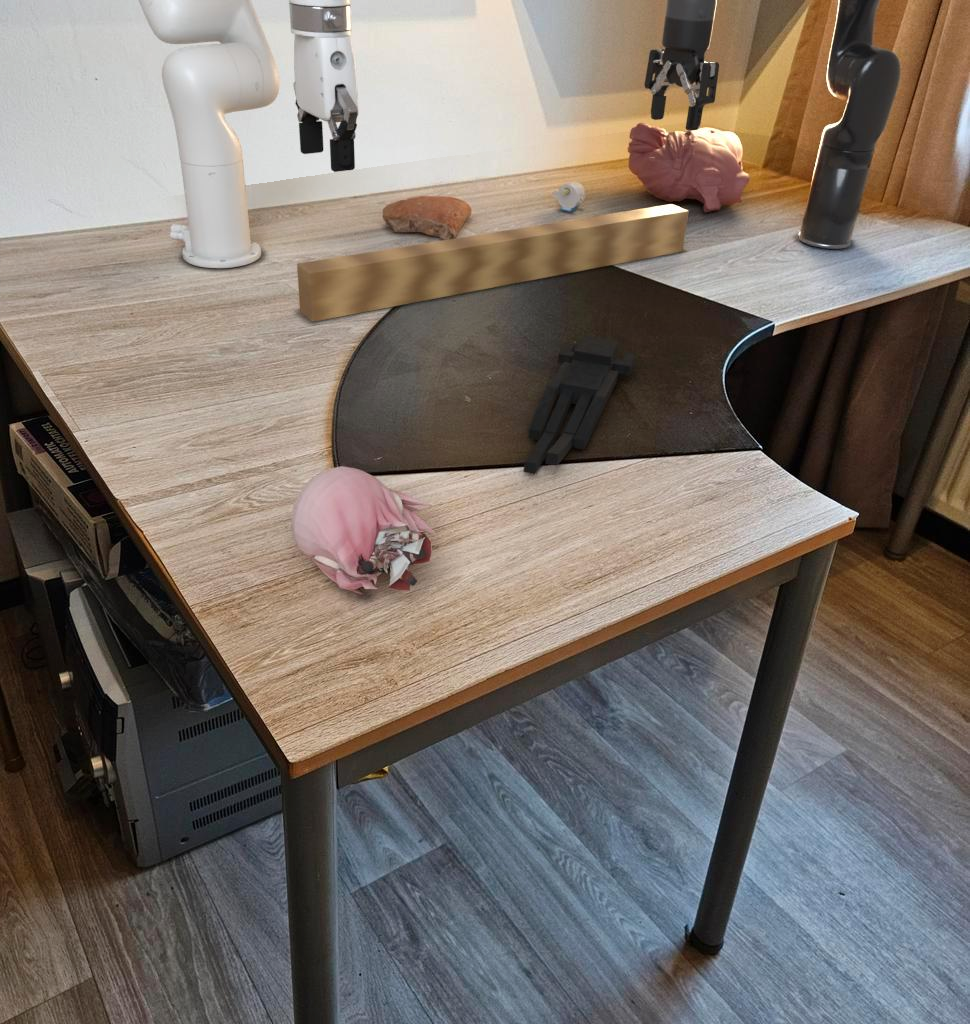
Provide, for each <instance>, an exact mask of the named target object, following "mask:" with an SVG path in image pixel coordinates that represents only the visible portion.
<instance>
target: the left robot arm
mask: <svg viewBox="0 0 970 1024" xmlns="http://www.w3.org/2000/svg"><path fill="white" fill-rule="evenodd" d="M138 2H139V5H140V7H141V10H142V12H143V15H144V16H145V19H146V21H147V23H148V26H149V27H150V29H151V31H152V33H153V34H154V35H155V37H156V38H157V39H158V40H160V41H161V42H164V43H165V44H170V45H189V44H191V45H190V46H184V47H181V48H178V49H176V50H174V51H172V52H170V54H168V55H167V57H166V58H165V59H164V62H163V64H162V67H161V68H162V69H161V78H162V79H161V80H162V84H163V88H164V92H165V95H166V99H167V101H168V104H169V108H170V112H171V115H172V119H173V123H174V129H175V135H176V140H177V148H178V155H179V160H180V168H181V176H182V183H183V192H184V200H185V208H186V213H187V214H186V216H187V223H188V225H185V224H180V223H172V225H171V226H170V233H169V237H170V239H171V240H175V241H183V242H184V247H183V248H182V250H181V253H182V258H183V260H184V261H185V262H186V263H188V264H190V265H193V266H196V267H199V268H206V269H232V268H239V267H243V266H247V265H249V264H252V263H255V262H257V261H258V260H259V259H260V258H261V257H262V247H261V246H260V245H259V243H257V242H256V241H253V240H251V230H250V220H249V210H248V209H249V208H248V198H247V197H248V196H247V188H246V178H245V167H244V158H243V157H244V156H243V148H242V144H241V141H240V138H239V137H238V135H237V133H236V131H234V129H233V128H232V126H230V124H229V123H228V121H227V119H226V118H225V115H226V114H232V113H234V112H235V113H236V112H243V111H249V110H250V111H251V110H256V109H262V108H265V107H268V106H270V105H271V104H273V103H274V102H275V101H276V99H277V97H278V95H279V91H280V76H279V71H278V67H277V63H276V60H275V57H274V54H273V52H272V50H271V48H270V45H269V42H268V40H267V36H266V35H265V32H264V30H263V27H262V24H261V22H260V20H259V17H258V15H257V12H256V10H255V7H254V5H253V3H252V0H138ZM288 2H289V3H288V6H289V7H288V8H289V22H290V23H289V24H290V33H291V34H294V39H293V40H294V43H293V45H294V46H293V66H294V68H293V69H294V70H293V71H294V82H293V90H294V94H295V98H296V99H295V102H294V104H295V106H296V108H297V114H296V117H297V118H296V119H297V121H298V133H299V145H300V146H299V147H300V149H299V150H300V153H301V154H303V155H310V154H318V153H319V154H321V153H323V152H324V132H323V131H324V130H323V129H324V128H323V122H327V125H328V128H329V130H330V134H331V138H330V139H329V154H330V170H331V171H332V172H334V173H339V172H346V171H347V172H348V171H353V170H355V168H356V160H355V159H356V156H355V139H356V130H357V126H358V124H357V119H358V117H359V110H360V109H359V93H358V79H357V67H356V60H355V53H354V47H353V41H352V37H351V35H352V11H351V0H288ZM215 42H216V43H215ZM200 43H201V44H200ZM203 43H208V44H203ZM192 44H196V45H192ZM197 44H198V45H197ZM337 123H339V125H338V124H337Z"/></svg>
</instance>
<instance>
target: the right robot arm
mask: <svg viewBox="0 0 970 1024" xmlns="http://www.w3.org/2000/svg"><path fill="white" fill-rule="evenodd" d="M717 2H718V0H667V1H666V9H665V15H664V16H665V17H664V23H663V24H664V25H663V31H662V39H661V45H662V47H664V48H655V49H650V51H649V55H648V61H647V66H646V72H645V79H644V89H646V90H647V89H649V90H650V93H651V95H652V98H651V107H650V118H651V120H654V121H659V120H660V121H661V120H663V119H664V117H665V110H666V104H667V102H666V101H667V95H666V93H667V92H668V91H669V89H670V88H671V87H672V86H673V85H676V86H678V87H680V88H682V90H683V92H684V93H685V94H686V95H687V99H688V101H689V106H688V109H687V116H686V123H685V130H686V131H694V130H698V129H700V126H701V123H702V117H703V111H704V107H705V106H706V105H710V104H714V103H715V102H716V96H717V95H716V94H717V88H718V87H717V86H718V80H719V79H718V78H719V72H720V63H719V61H712V62H707V61H706V60H705V54H706V52H707V51H708V50H709V49H710V46H711V40H712V35H713V27H714V22H715V15H716V8H717ZM880 2H881V0H838V5H837V13H836V20H835V25H834V31H833V36H832V40H831V47H830V50H829V55H828V64H827V70H826V83H827V88H828V91H829V92H830V94H831V95H832V96H833V97H834V98H836V99H838V100H840V101H843V102H845V103H846V105H845V109H844V112H843V115H842V117H841V119H840V120H839V121H837V122H833V123H829V124H827V125H826V126H825V127H824V129H823V131H822V133H821V139H820V144H819V148H818V151H817V156H816V160H815V166H814V169H813V173H812V179H811V183H810V187H809V192H808V195H807V201H806V204H805V209H804V212H803V215H802V217H801V226H800V231H799V233H798V237H797V238H798V240H799V241H800V242H801V243H803V244H805V245H808V246H811V247H814V248H819V249H825V250H842V249H846V248H848V247H850V246H851V243H852V237H853V233H854V230H855V226H856V222H857V218H858V214H859V211H860V207H861V203H862V199H863V197H864V196H863V195H864V192H865V187H866V184H867V180H868V176H869V173H870V169H871V164H872V161H873V157H874V153H875V149H876V147H877V146H876V145H877V143H878V140H879V139H880V137H881V136H882V134H883V133H884V130H885V128H886V126H887V123H888V120H889V117H890V113H891V110H892V107H893V105H894V101H895V99H896V98H895V97H896V95H897V91H898V89H899V84H900V79H901V61H900V59H899V57H898V56H897V55H896V53H895V52H893V50H890V49H887V48H883V47H880V46H876V45H874V31H875V22H876V16H877V11H878V8H879V4H880ZM653 78H654V79H653Z"/></svg>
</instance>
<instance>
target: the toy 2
mask: <svg viewBox="0 0 970 1024" xmlns="http://www.w3.org/2000/svg"><path fill="white" fill-rule="evenodd" d="M619 342H620V341H619V340H615V339H610V338H603V337H597V336H591V335H585V334H583V335H582V336H581V337H580V339H579V341H578V342H577V344H576V343H573V342H565V343H564V344H563V345H562V348H561V350H560V351H559V353H558V358H557V363H558V364H561V366H559V368H558V370H557V371H556V372H555V373H554V375H553V377H552V378H551V379H550V381H549V382H548V384H547V385H546V386H545V388H544V391H543V392H542V395H541V398H540V401H539V403H538V406H537V407H536V410H535V413H534V415H533V418H532V421H531V423H530V425H529V427H528V439H533V440H537V442H536V444H535V445H534V447H532V450H531V451H530V452H529V454H528V455H527V457H526V458H525V460H524V462H523V473H527V474H531V475H536V473H537V472H538V471H539V469H540V467H541V465H542V464H543V462H544V461H545V465H546V464H547V465H551V466H556V467H557V466H558V465H559V464H560V463H561V462H562V461H563V459H564V458H565V457H566V455H567V454H568V453H569V452H570V450H571V449H572V448H573V449H574V448H575V449H580V450H585V449H586V446H587V445H588V442H589V440H590V438H591V436H592V434H593V432H594V430H595V427H596V425H597V423H598V421H599V419H600V417H601V415H602V413H603V411H604V408H605V406H606V404H607V402H608V401H609V398H610V396H611V394H612V393H613V391H614V388H615V386H616V384H617V382H618V377H619V374H620V375H625V376H630V374H631V372H632V370H633V367H634V365H635V361H636V355H637V354H635V353H631V352H625V354H624V356H623V358H622V359H617V358H618V350H619ZM556 399H557V402H556V404H555V406H554V409H553V411H552V408H553V405H554V403H555V401H556ZM571 404H572V405H573V404H574V405H575V406H574V408H573V411H572V413H571V415H570V418H569V420H568V422H567V425H566V427H565V428H564V431H563V433H562V434H561V436H560V437H559V438H558V439H557V437H558V435H559V434H560V431H561V428H562V426H563V424H564V421H565V419H566V417H567V415H568V412H569V409H570V407H571ZM551 411H552V413H551ZM550 413H551V415H550ZM549 416H550V417H549ZM548 418H549V420H548ZM547 421H548V422H547Z"/></svg>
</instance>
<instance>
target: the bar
mask: <svg viewBox="0 0 970 1024" xmlns="http://www.w3.org/2000/svg"><path fill="white" fill-rule="evenodd" d="M689 212H690V211H689V210H688V209H685V208H683V207H680V206H679V205H676V204H673V203H669V204H663V205H656V206H651V207H644V208H639V209H638V208H637V209H631V210H626V211H620V212H619V211H618V212H613V213H607V214H600V215H595V216H588V217H582V218H575V219H569V220H564V221H563V220H562V221H557V222H551V223H543V224H537V225H531V226H524V227H518V228H511V229H507V230H505V229H504V230H500V231H493V232H488V233H481V234H474V235H469V236H461V237H455V238H454V239H449V240H444V239H442V240H436V241H430V242H423V243H418V244H412V245H406V246H400V247H393V248H386V249H380V250H374V251H368V252H362V253H361V252H360V253H355V254H350V255H349V254H348V255H342V256H336V257H330V258H322V259H317V260H310V261H305V262H298V263H296V271H297V283H298V285H297V286H298V301H299V312H300V313H301V314H303V316H305V318H307V319H308V320H309V321H310V322H311V323H314V322H319V321H325V320H331V319H336V318H340V317H347V316H351V315H356V314H363V313H366V312H371V311H377V310H383V309H389V308H394V307H399V306H404V305H408V304H413V303H414V304H415V303H419V302H425V301H429V300H434V299H441V298H445V297H451V296H457V295H462V294H466V293H471V292H477V291H482V290H487V289H493V288H498V287H504V286H509V285H514V284H519V283H524V282H525V283H526V282H530V281H535V280H541V279H546V278H550V277H551V278H552V277H557V276H561V275H566V274H571V273H572V274H573V273H577V272H583V271H587V270H592V269H597V268H603V267H608V266H613V265H619V264H624V263H629V262H635V261H640V260H646V259H650V258H651V259H652V258H656V257H661V256H666V255H672V254H676V253H682V252H683V248H684V243H685V236H686V231H687V224H688V220H689V219H688V218H689Z"/></svg>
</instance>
